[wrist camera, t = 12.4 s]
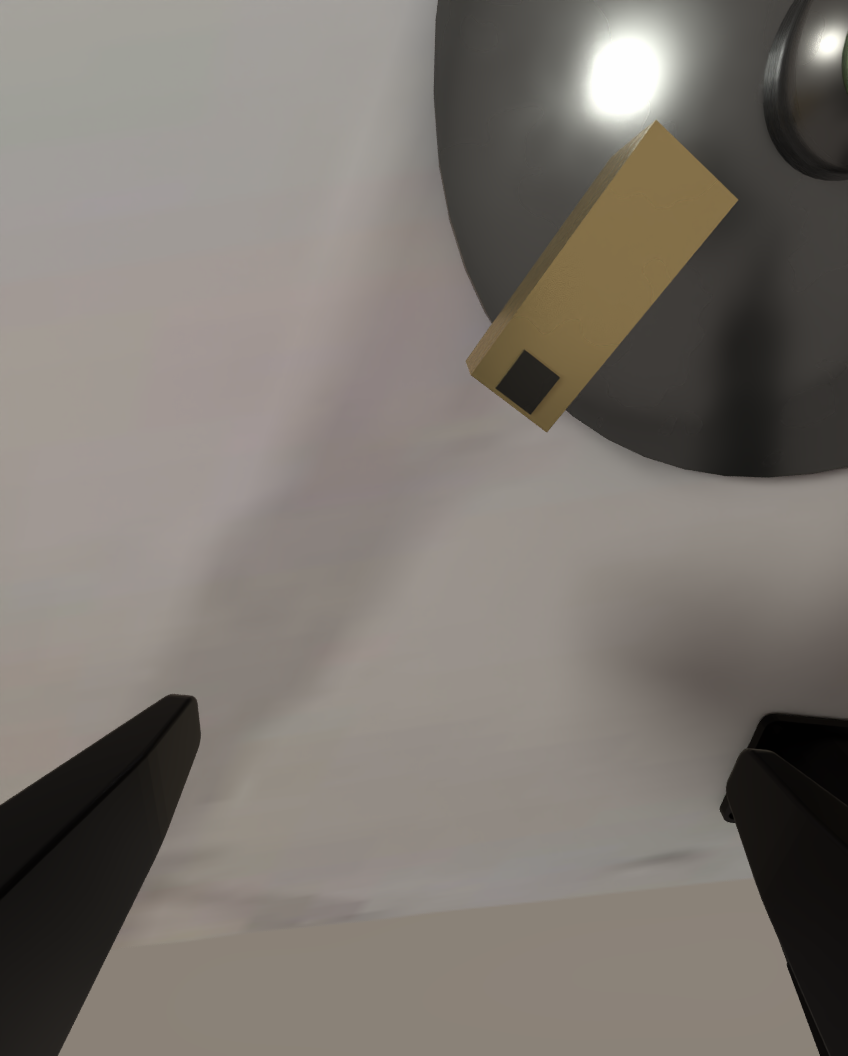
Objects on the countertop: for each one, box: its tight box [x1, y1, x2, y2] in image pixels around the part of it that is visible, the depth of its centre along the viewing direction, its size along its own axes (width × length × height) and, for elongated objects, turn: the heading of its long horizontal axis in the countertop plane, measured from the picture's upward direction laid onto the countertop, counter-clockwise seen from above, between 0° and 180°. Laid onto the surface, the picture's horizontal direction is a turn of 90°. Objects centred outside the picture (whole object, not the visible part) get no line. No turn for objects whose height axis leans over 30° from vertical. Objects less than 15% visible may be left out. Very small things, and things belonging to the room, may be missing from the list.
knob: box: [466, 120, 738, 432], centre depth 13 cm, size 6×2×5 cm, turn 145°
